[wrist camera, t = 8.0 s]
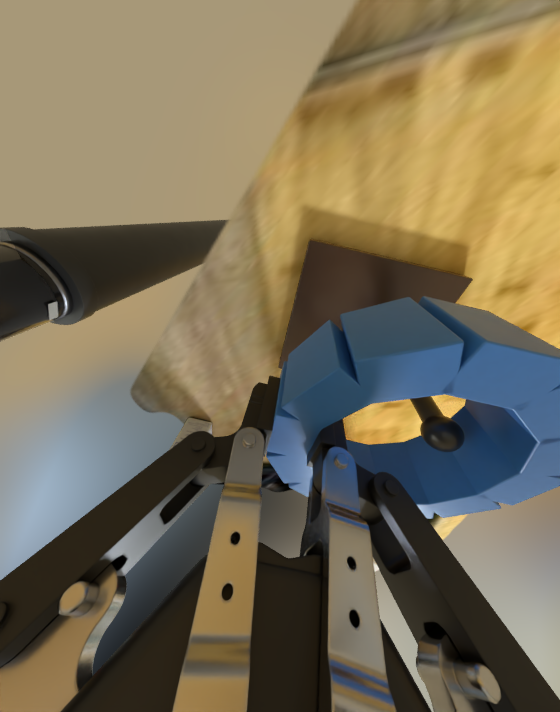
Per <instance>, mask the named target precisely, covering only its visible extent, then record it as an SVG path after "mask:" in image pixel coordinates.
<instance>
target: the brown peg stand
mask: <svg viewBox="0 0 560 712" xmlns="http://www.w3.org/2000/svg"><path fill="white" fill-rule="evenodd" d="M472 280H473V279H472V278H469V277H467V276H464V275H460V274H456V273H452V272H447V271H443V270H439V269H435V268H431V267H427V266H422V265H418V264H414V263H410V262H406V261H401V260H397V259H393V258H389V257H385V256H381V255H376V254H372V253H368V252H364V251H360V250H356V249H351V248H347V247H343V246H339V245H335V244H330V243H326V242H322V241H318V240H314V239H309V243H308V247H307V251H306V255H305V259H304V263H303V268H302V272H301V276H300V280H299V284H298V288H297V292H296V296H295V300H294V304H293V309H292V313H291V317H290V321H289V325H288V329H287V333H286V337H285V341H284V345H283V350H282V354H281V358H280V362H279V366H278V367H279V368H282V367H283V364H284V361H287V362H288V356H289V354H290V353H291V352H292V351H293V350H294V349H296V348H297V347H298V346H299V345H300V344H301V343H303V342H304V341H305V340H306V339H307V338H308V337H310V336H311V335H312V334H313V333H314V332H315V331H317V330H318V329H319V328H320V327H321V326H322V325H324V324H325V323H326V322H327V321H328V320H331V321H332V322H333V323H334V324H335V325H336V326H337V327H338V328H339V329H340V330H342V324H341V319H340V315H341V314H343V313H347V312H351V311H355V310H359V309H363V308H367V307H371V306H374V305H378V304H382V303H386V302H390V301H394V300H398V299H402V298H406V297H410V298H411V299H413V300H414V301H415V302H416V303H419V301H420V300H421V298H422V297H423V296H426V297H430V298H434V299H438V300H443V301H447V302H451V303H456V301H457V300H458V299H459V297H460V296H461V295H462V293H463V292H464V291H465V289H466V288H467V287H468V285H469V284H470V283H471V281H472ZM342 331H343V330H342ZM410 400H411V402H412V404H413V405H414V407H415V409H416V411H417V413H418V415H419V417H420V418H421V420H422V424H421V428H420V430H421V435H422V437H423V439H424V441H425V442H426V443H427V444H428V445H429V446H431V447H432V448H434V449H436V450H438V451H442V452H453V451H456V450H458V449H459V448H460V447H461V446H462V445H463V443H464V439H465V438H464V432H463V430H462V428H461V427H460V426H459V424H458V423H456V422H455V421H454V420H452V419H450V418H448V417H445V416H444V415H443V414H442V412H441V411H440V409H439V408H438V406H437V405H436V403H435V402H434V400H433V399H432V397H431V396H427V397H419V398H412V399H410Z"/></svg>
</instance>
